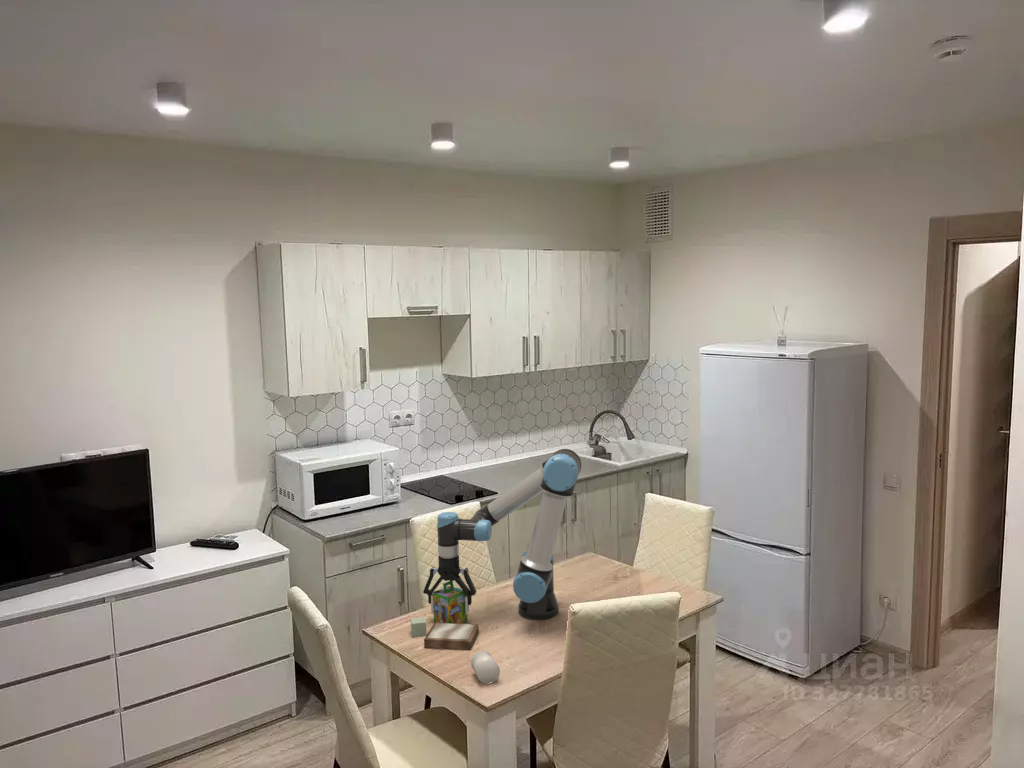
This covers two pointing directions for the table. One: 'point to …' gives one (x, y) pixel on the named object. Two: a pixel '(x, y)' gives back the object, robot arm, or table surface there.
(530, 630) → the table surface
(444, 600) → the chalk box
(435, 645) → the podium
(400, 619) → the table surface
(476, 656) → the white rounded capsule
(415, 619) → the sage block
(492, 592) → the table surface
